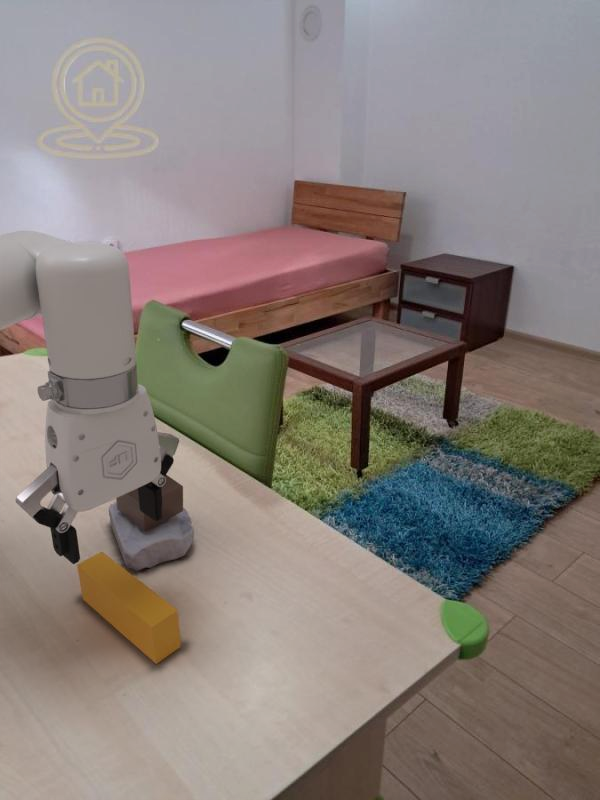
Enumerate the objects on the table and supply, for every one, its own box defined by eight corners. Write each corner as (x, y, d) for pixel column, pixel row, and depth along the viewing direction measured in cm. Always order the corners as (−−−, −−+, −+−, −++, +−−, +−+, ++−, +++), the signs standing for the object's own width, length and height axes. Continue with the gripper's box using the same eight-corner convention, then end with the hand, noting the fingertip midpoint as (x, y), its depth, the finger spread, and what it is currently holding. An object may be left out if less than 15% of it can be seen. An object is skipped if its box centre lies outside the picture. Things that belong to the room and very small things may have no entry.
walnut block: (116, 509, 81) (115, 483, 80) (155, 490, 86) (154, 466, 84) (144, 531, 78) (143, 505, 76) (183, 511, 82) (183, 486, 80)
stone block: (173, 516, 91) (102, 523, 86) (178, 488, 89) (106, 492, 84) (201, 568, 81) (122, 578, 76) (206, 536, 79) (127, 545, 74)
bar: (156, 664, 64) (152, 627, 62) (82, 599, 73) (76, 564, 71) (181, 646, 67) (178, 610, 64) (106, 585, 75) (101, 551, 73)
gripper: (24, 426, 50) (51, 595, 57) (195, 369, 62) (200, 515, 69) (-19, 397, 54) (12, 557, 61) (149, 349, 66) (158, 488, 73)
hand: (111, 534), depth 65 cm, fingers open, 9 cm apart
